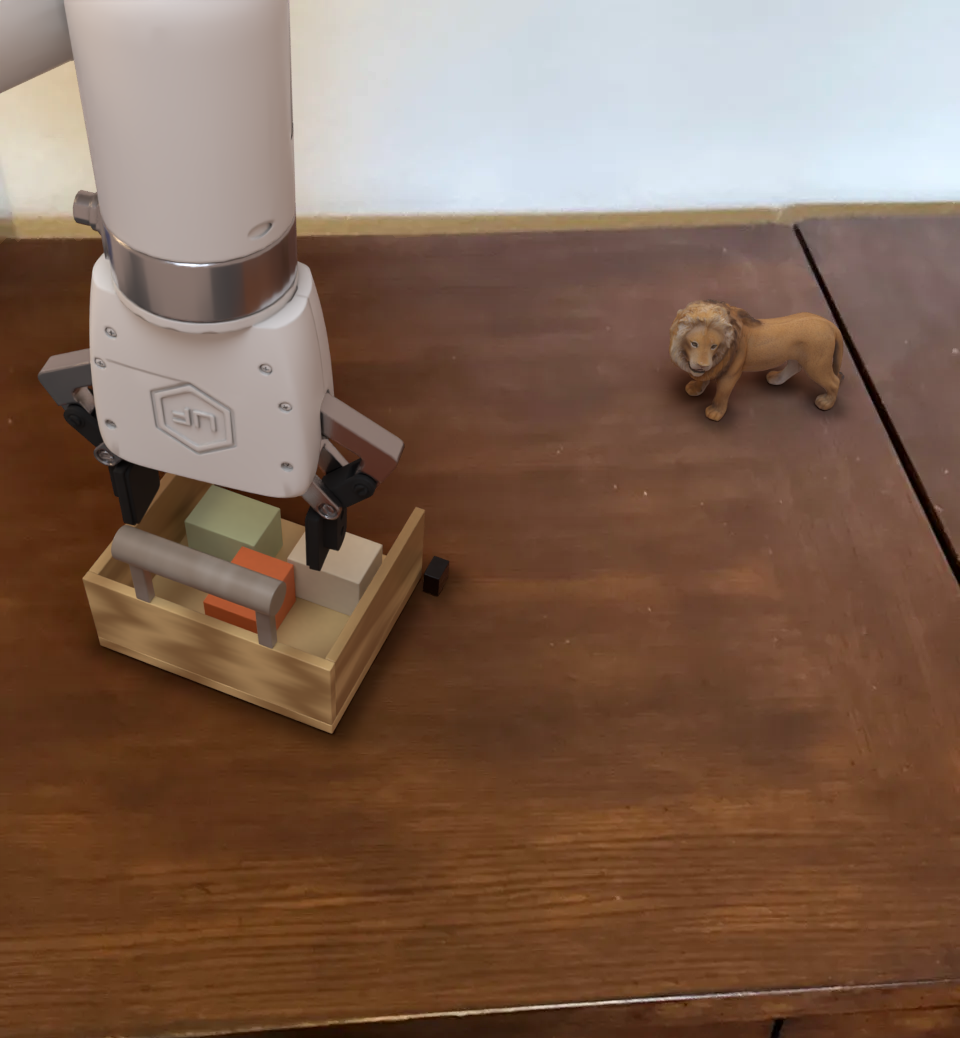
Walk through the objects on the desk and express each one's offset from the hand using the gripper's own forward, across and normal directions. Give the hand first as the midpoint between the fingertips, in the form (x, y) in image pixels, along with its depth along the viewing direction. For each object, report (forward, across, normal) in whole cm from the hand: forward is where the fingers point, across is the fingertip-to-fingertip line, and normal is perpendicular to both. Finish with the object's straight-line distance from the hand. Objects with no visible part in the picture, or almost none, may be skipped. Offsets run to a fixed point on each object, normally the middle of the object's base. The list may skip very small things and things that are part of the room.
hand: (232, 527), depth 64 cm
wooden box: (+9, +1, +2) cm, 9 cm away
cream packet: (+8, +4, +4) cm, 10 cm away
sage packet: (+8, -2, +5) cm, 9 cm away
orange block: (+8, +1, 0) cm, 8 cm away
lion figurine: (+9, +26, +28) cm, 39 cm away
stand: (+9, +2, +8) cm, 12 cm away
